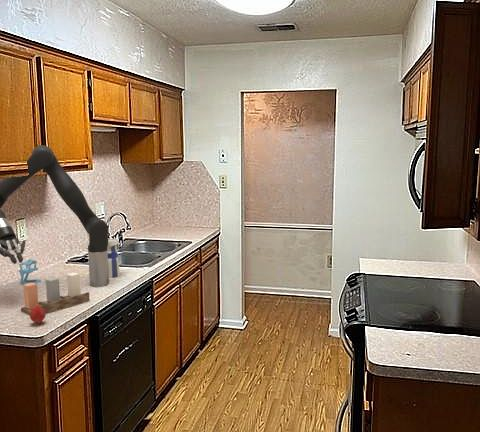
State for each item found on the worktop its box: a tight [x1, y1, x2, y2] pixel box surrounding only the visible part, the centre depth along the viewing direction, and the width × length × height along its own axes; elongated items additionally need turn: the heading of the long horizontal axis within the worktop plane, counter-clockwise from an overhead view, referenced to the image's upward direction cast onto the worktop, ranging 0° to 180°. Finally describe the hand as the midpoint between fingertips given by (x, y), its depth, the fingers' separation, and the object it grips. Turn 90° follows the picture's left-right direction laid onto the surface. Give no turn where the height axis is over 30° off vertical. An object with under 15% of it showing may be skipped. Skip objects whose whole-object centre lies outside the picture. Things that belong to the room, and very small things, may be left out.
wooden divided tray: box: [20, 291, 91, 316], centre depth 215 cm, size 26×11×4 cm, turn 139°
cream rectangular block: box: [66, 272, 81, 297], centre depth 223 cm, size 4×4×10 cm
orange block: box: [22, 282, 39, 309], centre depth 208 cm, size 4×4×10 cm
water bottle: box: [107, 238, 121, 279], centre depth 259 cm, size 8×9×25 cm
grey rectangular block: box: [45, 276, 61, 303], centre depth 216 cm, size 4×4×10 cm
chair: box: [18, 259, 42, 285], centre depth 249 cm, size 8×8×12 cm
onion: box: [29, 304, 46, 325], centre depth 195 cm, size 6×6×8 cm
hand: (18, 262), depth 212 cm, fingers closed
